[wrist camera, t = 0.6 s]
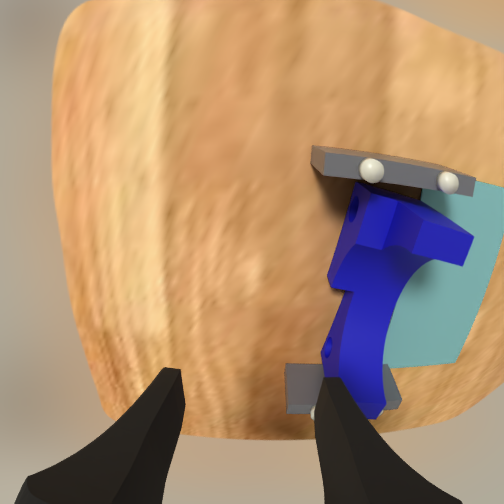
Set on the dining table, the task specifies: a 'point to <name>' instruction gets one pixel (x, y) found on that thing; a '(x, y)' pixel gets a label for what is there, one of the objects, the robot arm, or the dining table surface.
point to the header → (372, 170)
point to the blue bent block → (380, 281)
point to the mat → (447, 284)
